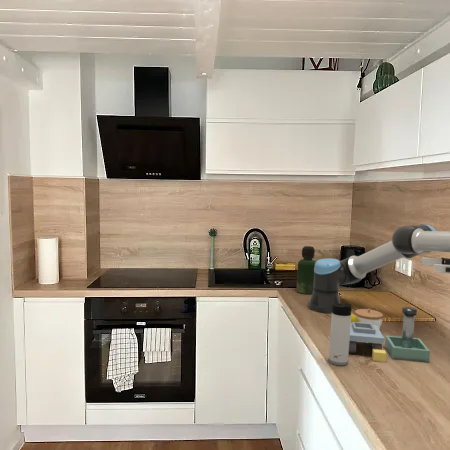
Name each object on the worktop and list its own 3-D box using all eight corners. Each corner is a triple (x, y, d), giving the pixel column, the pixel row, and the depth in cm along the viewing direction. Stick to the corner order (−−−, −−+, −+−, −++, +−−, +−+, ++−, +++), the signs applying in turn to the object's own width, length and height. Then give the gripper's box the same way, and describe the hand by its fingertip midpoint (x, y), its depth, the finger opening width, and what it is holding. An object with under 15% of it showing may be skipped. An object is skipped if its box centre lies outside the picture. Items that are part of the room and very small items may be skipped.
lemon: (346, 328, 175) (347, 309, 175) (359, 332, 172) (360, 312, 171) (340, 332, 171) (341, 312, 170) (353, 335, 168) (354, 315, 167)
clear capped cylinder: (397, 348, 154) (400, 306, 152) (411, 349, 153) (415, 307, 152) (400, 353, 149) (404, 310, 148) (415, 354, 148) (419, 311, 147)
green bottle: (303, 295, 226) (306, 248, 224) (292, 290, 236) (295, 245, 233) (319, 293, 230) (322, 248, 228) (308, 289, 240) (310, 245, 237)
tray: (384, 345, 158) (385, 335, 158) (419, 349, 156) (419, 338, 156) (392, 358, 146) (392, 347, 146) (429, 362, 144) (430, 351, 144)
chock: (371, 357, 147) (372, 348, 147) (384, 358, 146) (384, 350, 146) (373, 360, 144) (374, 352, 144) (385, 362, 143) (386, 353, 143)
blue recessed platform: (342, 340, 162) (344, 318, 162) (375, 343, 161) (377, 321, 160) (346, 354, 149) (348, 330, 148) (382, 358, 147) (384, 334, 146)
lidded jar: (386, 335, 169) (388, 312, 168) (361, 336, 167) (363, 313, 166) (373, 326, 180) (374, 304, 179) (349, 327, 178) (350, 305, 177)
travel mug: (337, 367, 138) (341, 307, 136) (324, 359, 144) (328, 301, 142) (352, 364, 140) (356, 305, 138) (339, 357, 146) (343, 300, 144)
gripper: (510, 288, 135) (439, 283, 138) (477, 272, 159) (417, 268, 163) (512, 264, 134) (441, 260, 137) (479, 252, 159) (418, 248, 162)
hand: (428, 264), depth 150 cm, fingers open, 13 cm apart
